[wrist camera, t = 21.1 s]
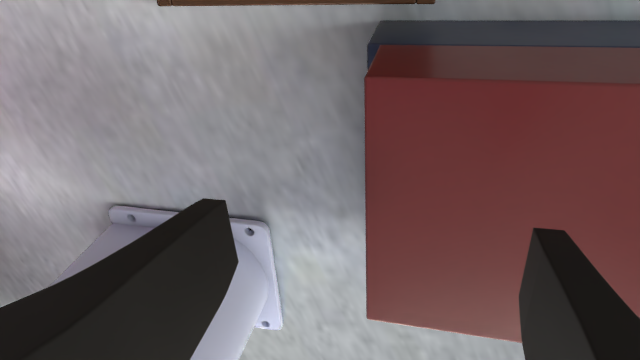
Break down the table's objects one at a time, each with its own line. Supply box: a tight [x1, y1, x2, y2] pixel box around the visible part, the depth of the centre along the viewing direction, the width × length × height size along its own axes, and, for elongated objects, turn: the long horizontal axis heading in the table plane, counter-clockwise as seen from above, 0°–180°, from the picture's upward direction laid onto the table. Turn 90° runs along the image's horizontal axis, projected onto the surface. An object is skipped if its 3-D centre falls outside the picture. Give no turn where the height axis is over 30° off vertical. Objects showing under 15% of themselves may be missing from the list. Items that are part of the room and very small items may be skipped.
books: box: [364, 21, 640, 343], centre depth 16 cm, size 11×10×6 cm
